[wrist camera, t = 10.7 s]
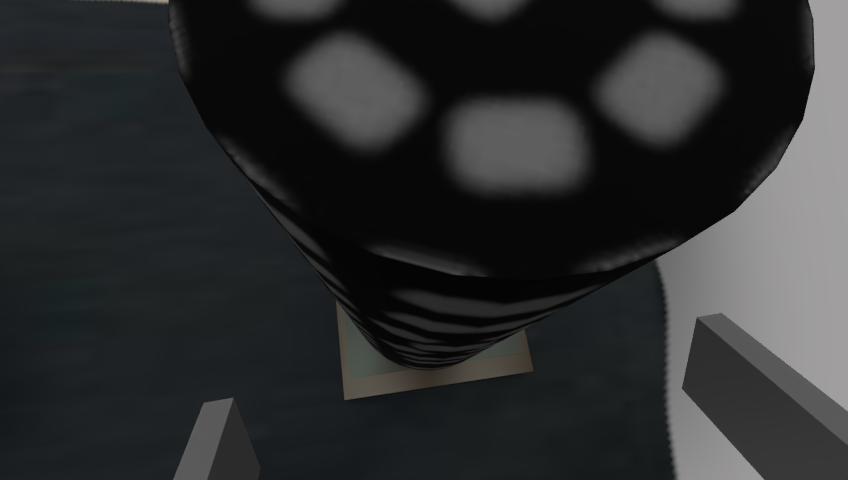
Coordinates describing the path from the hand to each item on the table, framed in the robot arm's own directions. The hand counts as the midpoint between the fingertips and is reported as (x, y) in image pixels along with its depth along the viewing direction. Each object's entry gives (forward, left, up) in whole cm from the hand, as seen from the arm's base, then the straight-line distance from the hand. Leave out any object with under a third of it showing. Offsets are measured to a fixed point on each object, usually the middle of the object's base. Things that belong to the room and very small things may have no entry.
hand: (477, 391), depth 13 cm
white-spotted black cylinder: (0, +5, -11) cm, 12 cm away
